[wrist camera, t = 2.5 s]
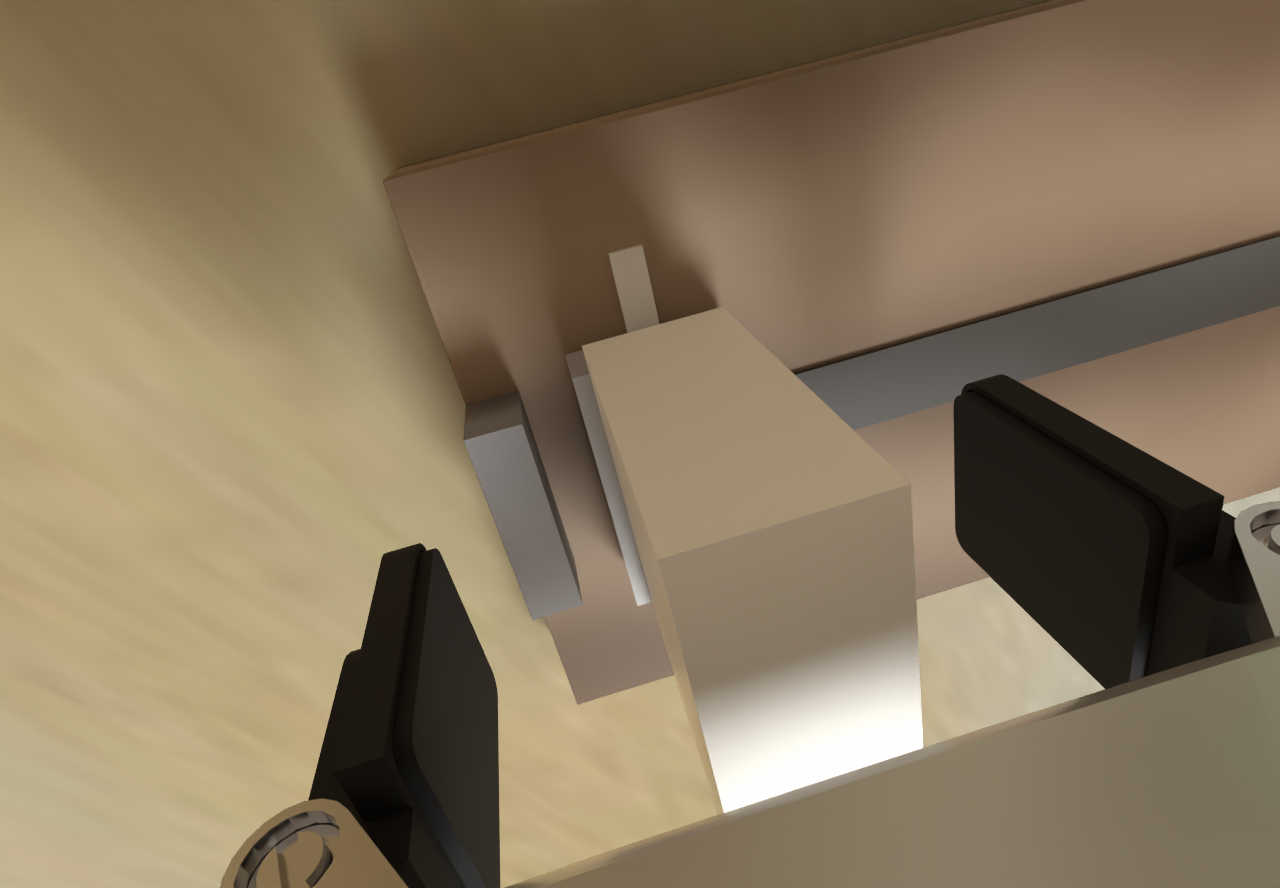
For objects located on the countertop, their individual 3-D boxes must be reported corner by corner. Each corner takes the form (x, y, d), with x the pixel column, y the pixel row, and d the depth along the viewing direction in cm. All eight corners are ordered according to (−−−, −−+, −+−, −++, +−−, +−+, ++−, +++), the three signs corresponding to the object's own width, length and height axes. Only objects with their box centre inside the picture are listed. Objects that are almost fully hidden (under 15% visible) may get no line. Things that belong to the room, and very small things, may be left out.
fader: (557, 328, 13) (625, 568, 6) (719, 284, 13) (941, 474, 7) (632, 588, 16) (731, 933, 9) (764, 548, 16) (950, 860, 9)
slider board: (396, 168, 13) (368, 194, 10) (1597, -140, 15) (1892, -201, 12) (569, 646, 19) (585, 756, 16) (1425, 386, 20) (1591, 439, 17)
